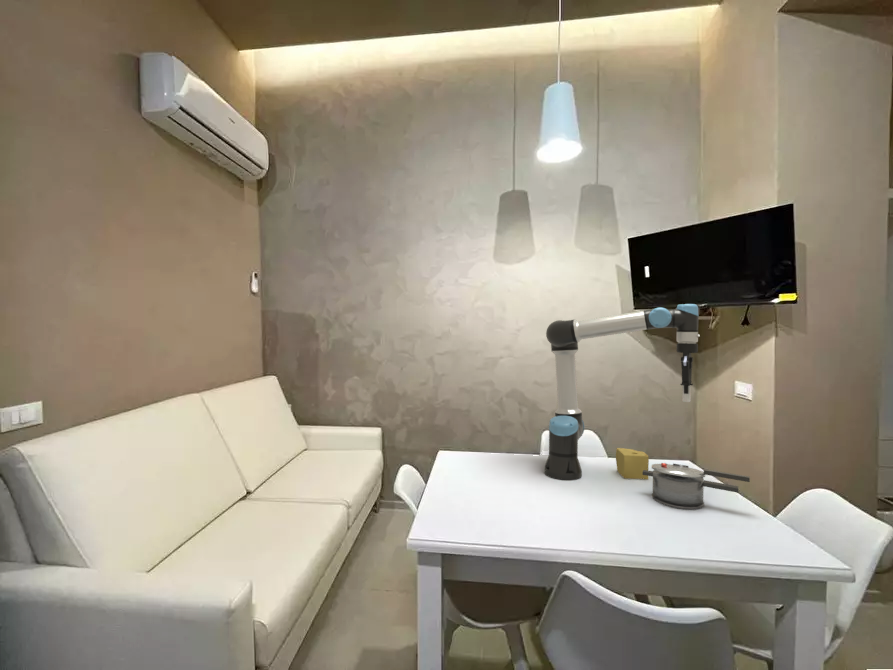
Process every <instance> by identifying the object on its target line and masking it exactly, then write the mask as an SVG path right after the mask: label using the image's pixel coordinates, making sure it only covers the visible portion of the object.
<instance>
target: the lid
mask: <svg viewBox="0 0 893 670" xmlns="http://www.w3.org/2000/svg"><path fill="white" fill-rule="evenodd" d="M651 469H652V470H653V471H654V470H656V471H659V472H662V473H666V474H670V475H676V476H682V477H692V478H703V479H704V478H705V477H706V476H711V477H715V478H724V479H729V480H735V481H739V482H744V483H745V482H746V483H750V480H751V478H750V476H749V475H748V476H747V475H742V474H735V473H730V472H725V471H718V470H712V469H706V468H704V469H703V471H702V470H700V469H696V468H693V467H689V465H684V464H679V463H673V464H670V463H669V464H668V463H666V462H661V463H653V464H651Z"/></svg>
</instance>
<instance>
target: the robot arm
mask: <svg viewBox="0 0 893 670" xmlns="http://www.w3.org/2000/svg"><path fill="white" fill-rule="evenodd" d="M699 317H700V316H699V305H697V304H695V303H685V304H683V303H682V304H677V306H676V308H674V309H668V308H665V307H661V306H660V307H656V308H651V309H645V310H640V311H632V312H628V313H619V314H614V315H610V316H608V315H607V316H604V317H598V318H597V317H596V318H590V319H585V320H577V319H569V320H554V321H553V322H551V323H550V324H549V325H548V326H547V328H546V330H545V331H546V332H545V335H546V336H545V337H546V340H547V341H548V342H549V344H550V349H551V352H552V353H553V354H554V358H555V360H554V361H555V375H556V392H557V409H556V410H555V411H554V416H553V417H551V418H550V420H549V423H548V456H547V458H546V461H545V463H544V464H545V465H544V467H543V468H544V474H545V475H546V476H548V477H549V478H553V479H557V480H562V481H563V480H564V481H565V480H566V481H573V480H579V479H580V478H582V476H583V475H582V474H583V471H582V467H581V463H580V459H579V457H578V456H579V455H578V449H579V448H578V446H579V445H578V443H579V440H580V438H581V437H582V436H583V434H584V431H585V423H584V419H583V411H582V410H581V409H580V408H579V402H578V389H577V388H578V387H577V385H578V384H577V383H578V382H577V369H576V353H578V352H579V343H580V341H581V340H586V339H593V338H599V337H600V338H601V337H606V336H614V335H619V334H620V335H621V334H625V333H631V332H632V333H633V332H639V331H645V330H654V329H671V328H672V329H676V342H677V343H676V352H677V353H682V356H681V357H680V364H681V365H680V366H681V383H680V386H682V393H681V394H682V398H681V399H682V403H683V402H685V403H691V397H692V396H691V393H692V392H691V391H692V390H691V389H692V388H691V387H692V386H693V383H692V374H693V371H692V370H693V362H694V357H692V354H697V353H698V352H699V344H698V342H699V337H701V336H700V334H699Z"/></svg>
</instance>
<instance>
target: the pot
mask: <svg viewBox="0 0 893 670" xmlns="http://www.w3.org/2000/svg"><path fill="white" fill-rule="evenodd" d="M643 475H647V476H648V477H652V493H651V498H652V499H653V500H654V501H655V502H657V503H659V504H660V505H663V506H666V507H669V508H672V509H678V510H686V511H687V510H688V511H689V510H690V511H692V510H693V511H695V510H700V509H702V508H704V506H705V504H704V503H705V500H704V488H705V487H706V488H710V489H715V490H720V491H727V492H730V493H731V492H733V493H737V494H738V493H739V486H738V485H733V484H727V483H723V482H722V483H721V482H717V481H711V480H706V479H704V477H703V478H692V477H682V476H676V475H670V474H666V473H662V472H659V471H656V470H654V469H653V470H649V469H648V470H643Z"/></svg>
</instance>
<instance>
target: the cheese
mask: <svg viewBox="0 0 893 670" xmlns="http://www.w3.org/2000/svg"><path fill="white" fill-rule="evenodd" d="M649 460H650V459H649V455H648V454H647V453H646V452H644V451H642V450H641V451H639V450H635V449H632V448H623V447H617V448H616V452H615V463H616V470H617V473H618V474H619V475H620V476H621V477H623V479H626V480H627V479H629V480H630V479H633V480H649V476H647V475H643V470H648V471H649V464H650V463H649V462H650V461H649Z"/></svg>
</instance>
